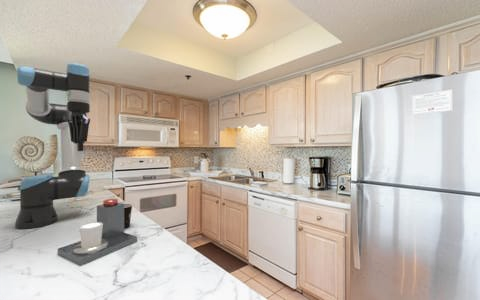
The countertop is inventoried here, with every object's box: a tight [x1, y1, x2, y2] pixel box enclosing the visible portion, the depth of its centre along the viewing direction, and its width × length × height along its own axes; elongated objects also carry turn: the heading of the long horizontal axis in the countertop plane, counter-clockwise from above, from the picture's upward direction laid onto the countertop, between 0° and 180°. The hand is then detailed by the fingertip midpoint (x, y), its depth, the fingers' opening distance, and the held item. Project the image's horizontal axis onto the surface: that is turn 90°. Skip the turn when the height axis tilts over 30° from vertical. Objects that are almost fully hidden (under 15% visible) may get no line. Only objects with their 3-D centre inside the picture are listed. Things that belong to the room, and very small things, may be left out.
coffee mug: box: [123, 203, 133, 230], centre depth 102 cm, size 12×9×10 cm
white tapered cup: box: [79, 221, 103, 249], centre depth 76 cm, size 7×7×7 cm
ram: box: [102, 198, 119, 206], centre depth 88 cm, size 5×5×12 cm
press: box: [57, 202, 138, 266], centre depth 81 cm, size 15×20×14 cm
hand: (79, 158), depth 91 cm, fingers closed
